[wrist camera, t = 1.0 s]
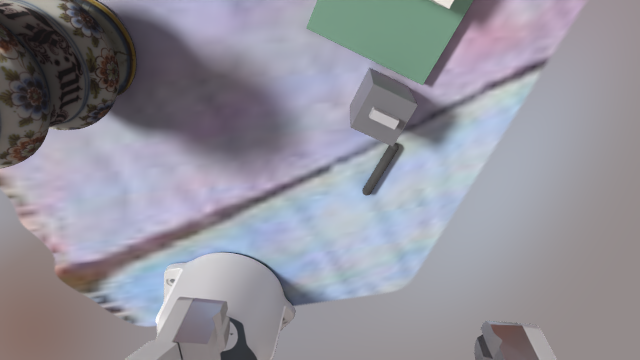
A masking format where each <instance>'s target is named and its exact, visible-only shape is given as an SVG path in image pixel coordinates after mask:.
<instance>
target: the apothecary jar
mask: <svg viewBox="0 0 640 360" xmlns="http://www.w3.org/2000/svg"><path fill="white" fill-rule="evenodd" d="M135 71H136V53H135V49H134V45H133V42H132V40H131V38H130V36H129V34H128V32H127V30H126V29H125V27H124V26H123V24H122V23H121V22H120V20H119V19H118V18H117V17H116V16H115V15H114V14H113V13H112V12H111V11H110V10H109V9H108V8H106V7H105V6H104V5H102V4H101V3H99V2H97V1H96V0H0V168H5V167H9V166H12V165H15V164H18V163H20V162H22V161H24V160H26V159H27V158H29V157H30V156H31V155H33V154H34V153H35V152H36V151H37V150H38V149H39V147H40V146H41V145H42V143H43V141H44V140H45V137H46V135H47V133H48V129H49V128H50V129H56V130H75V129H81V128H85V127H87V126H90V125H92V124H94V123H96V122H97V121H99V120H100V119H101V118H103V117H104V116H105V115H106V114H107V113H108V111H109V110H110V109H111V107H112V105H113V104H114V102H115V99H116V97H117V96H118V95H120V94H122V93H123V92H124V91H125V90H126V89H127V88H128V87H129V86H130V85H131V83H132V81H133V79H134V76H135Z"/></svg>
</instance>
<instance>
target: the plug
mask: <svg viewBox="0 0 640 360" xmlns="http://www.w3.org/2000/svg"><path fill="white" fill-rule="evenodd" d="M417 106H418V104H417V103H416V101H415V99H414V97H413V95H412V94H411V92H410V90H409V88H408V87H407V86H406V85H404V84H402V83H400V82H398V81H396V80H393V79H391V78H389V77H387V76H385V75H383V74H381V73H379V72H377V71H375V70H373V69H371V68H369V69H368V71H367V73H366V75H365V77H364V79H363V81H362V83H361V85H360V87H359V89H358V91H357V93H356V95H355V97H354V99H353V101H352V103H351V105H350V124H351V128H353V129H355V130H358V131H360V132H362V133H364V134H366V135H369V136H371V137H373V138H375V139H377V140H380V141H382V142H384V143H386V144H388V145H391V146H393V145H394V144H395V142H396V140H397V139H398V137H399V135H400V134H401V132H402V130H403V129H404V127H405V126H406V124H407V122H408V121H409V119H410V117H411V116H412V114H413V112H414V111H415V109H416V108H417Z"/></svg>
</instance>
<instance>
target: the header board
mask: <svg viewBox="0 0 640 360" xmlns="http://www.w3.org/2000/svg"><path fill="white" fill-rule="evenodd" d="M472 2H473V0H317V3H316V5H315V8H314V10H313V13H312V15H311V18H310V20H309V23H308V25H307V29H309V30H311V31H313V32H315V33H317V34H319V35H321V36H323V37H325V38H327V39H329V40H331V41H333V42H335V43H337V44H339V45H341V46H343V47H346V48H348V49H350V50H352V51H354V52H356V53H358V54H360V55H362V56H364V57H366V58H368V59H370V60H372V61H374V62H376V63H378V64H380V65H382V66H384V67H386V68H388V69H391V70H393V71H395V72H397V73H399V74H401V75H403V76H405V77H407V78H409V79H411V80H413V81H415V82H417V83H419V84H421V85H423V84H424V82H425V80H426V79H427V77H428V75H429V74H430V72H431V70H432V69H433V67H434V65H435V64H436V62H437V60H438V59H439V57H440V55H441V54H442V52H443V50H444V49H445V47H446V45H447V44H448V42H449V40H450V39H451V37H452V35H453V34H454V32H455V30H456V29H457V27H458V25H459V24H460V22H461V20H462V19H463V17H464V15H465V14H466V12H467V10H468V9H469V7H470V5H471V4H472Z"/></svg>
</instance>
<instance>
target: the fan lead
mask: <svg viewBox="0 0 640 360" xmlns="http://www.w3.org/2000/svg"><path fill="white" fill-rule="evenodd" d="M397 150H398V144H397V143H395V144H394V145H393V146H391V145H389V147H388V148H387V150H386V152H385V153H384V155H383V157H382V158H381V160H380V162H379V163H378V165H377V167H376V168H375V170H374V172H373V173H372V175H371V177H370V178H369V180H368V181H367V183H366V185H365V186H364V188H363V194H364V195H370V194H371V192H372V190H373V189H374V187H375V186H376V184H377V182H378V181H379V179H380V178H381V176H382V174H383V173H384V171H385V170H386V168H387V166H388V165H389V163H390V161H391V160H392V158H393V157H394V155H395V153H396V152H397Z"/></svg>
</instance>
